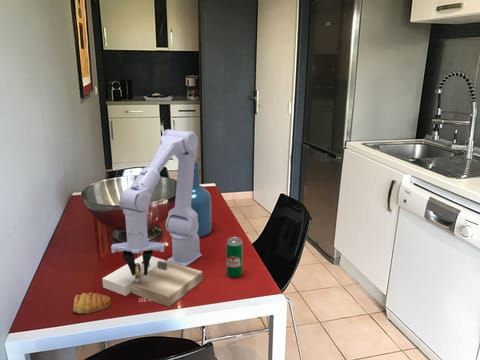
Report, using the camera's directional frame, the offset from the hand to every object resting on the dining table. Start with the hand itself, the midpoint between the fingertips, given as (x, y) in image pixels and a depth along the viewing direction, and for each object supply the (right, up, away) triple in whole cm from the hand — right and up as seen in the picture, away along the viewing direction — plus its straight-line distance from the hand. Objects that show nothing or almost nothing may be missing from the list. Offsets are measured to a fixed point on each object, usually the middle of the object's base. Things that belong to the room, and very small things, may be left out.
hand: (139, 273), depth 114 cm
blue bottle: (+11, +6, +42) cm, 44 cm away
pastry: (-12, -8, -6) cm, 16 cm away
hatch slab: (+8, -5, +4) cm, 10 cm away
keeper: (+5, 0, +8) cm, 9 cm away
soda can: (+27, -3, +11) cm, 29 cm away
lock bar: (-1, -1, +5) cm, 5 cm away
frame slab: (-3, -3, +8) cm, 9 cm away
